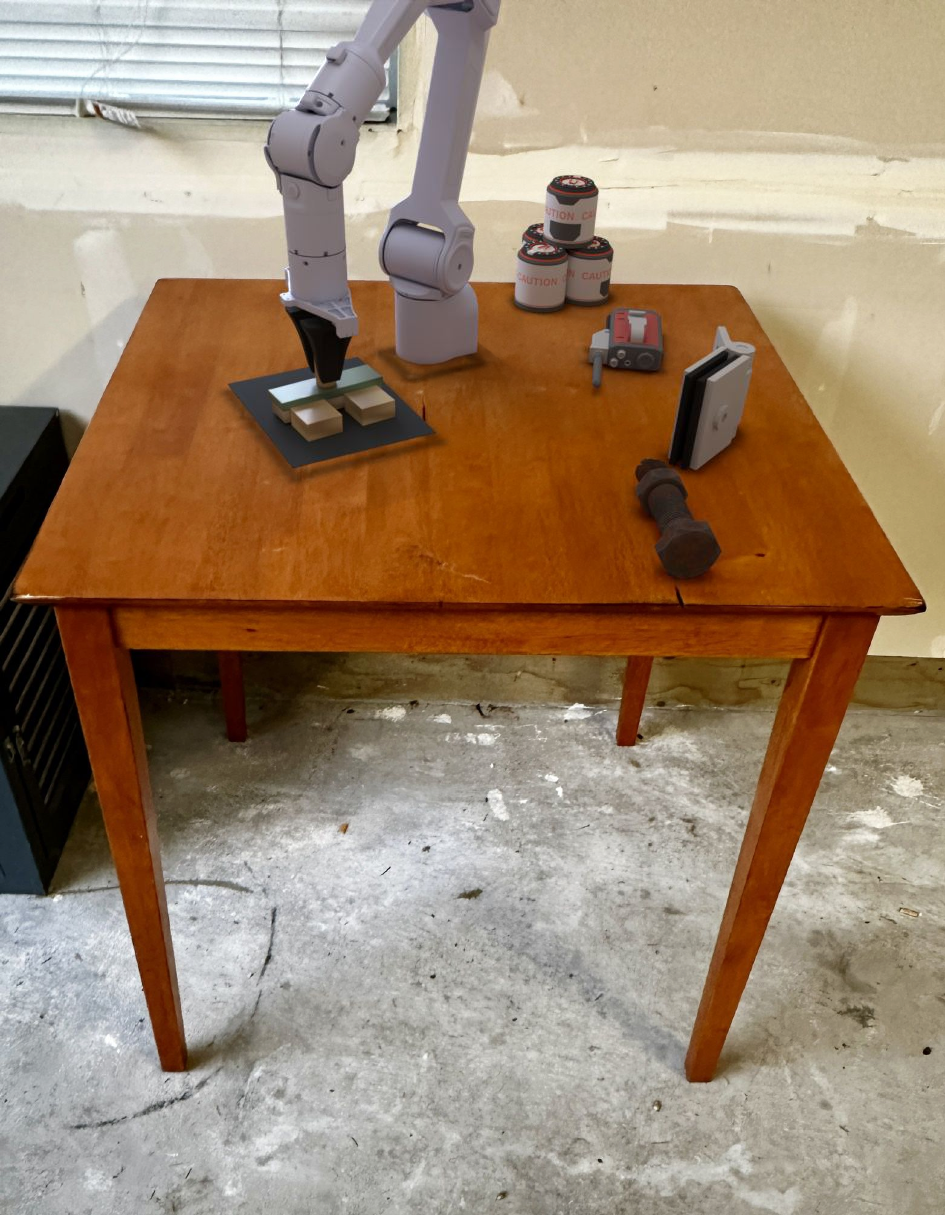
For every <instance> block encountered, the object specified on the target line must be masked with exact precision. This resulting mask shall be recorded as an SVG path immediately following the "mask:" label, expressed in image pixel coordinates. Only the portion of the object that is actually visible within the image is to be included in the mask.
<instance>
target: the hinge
mask: <svg viewBox="0 0 945 1215" xmlns="http://www.w3.org/2000/svg"><path fill="white" fill-rule="evenodd" d="M755 352H756V346H754V345H752V344H750V342H749V343H748V342H743V341H732V340H731V338H730V336H729V332H728V330H727V328H726V326H721V325H720V326H717V328H716V334H715V338H714V343H713V349H712V352H710V353H709V354H707V355H706V356H704V357H702V358H701V359H700V360H698V361H696V362H695V363H693V364H692V365H690V366H689V367H687V368H686V369H684V370H683V373H682V380H681V384H680V385H681V386H680V390H679V396H678V401H677V407H676V413H675V417H674V423H673V428H672V434H671V440H670V445H669V450H668V456H667V459H669V460H668V464H669V465H672V466H675V465H677V464H678V463H679V462H680V461H681V462H680V469H681V470H683V471H687V470H688V469H689V468H690V469H692V470H695V471H697V470H699V469H700V468H701V467H702V466H703V465H705V464H706V463H708V462H709V461H710V460H711V459H712V458H714V457H715V456H717V455H718V454H719V453H720V452H721V451H723V450H724V449H726V447H728V446H729V445H731V443H732V439H734V438H735V437H736V435H737V430H738V425H739V424H741V421H742V416H743V412H744V409H745V404H746V400H747V395H748V391H749V387H750V382H751V379H752V374H753V360H754V356H755Z"/></svg>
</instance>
